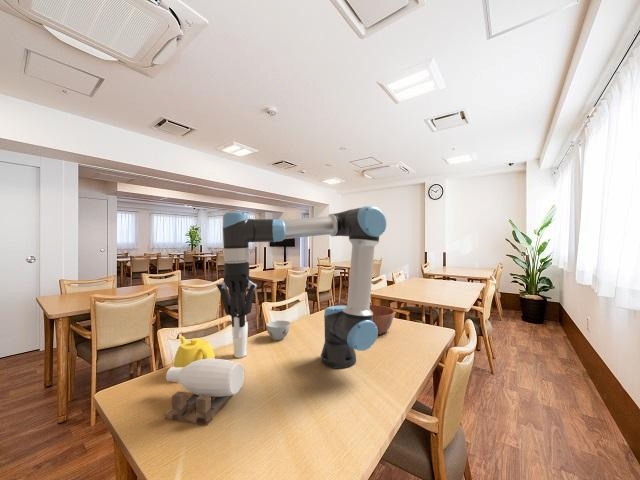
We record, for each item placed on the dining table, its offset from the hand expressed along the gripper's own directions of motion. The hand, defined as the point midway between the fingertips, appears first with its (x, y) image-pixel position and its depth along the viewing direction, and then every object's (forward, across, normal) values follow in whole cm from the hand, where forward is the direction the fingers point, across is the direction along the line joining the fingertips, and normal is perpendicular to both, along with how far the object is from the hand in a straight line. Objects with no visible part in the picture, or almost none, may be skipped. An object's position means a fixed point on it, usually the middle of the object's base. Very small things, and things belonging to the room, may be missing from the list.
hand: (238, 336), depth 85 cm
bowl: (+23, -38, -80) cm, 91 cm away
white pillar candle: (+22, +19, -33) cm, 44 cm away
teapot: (+22, +31, -17) cm, 41 cm away
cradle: (+21, +12, 0) cm, 24 cm away
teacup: (+22, +11, -57) cm, 63 cm away
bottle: (+13, +1, 0) cm, 13 cm away
